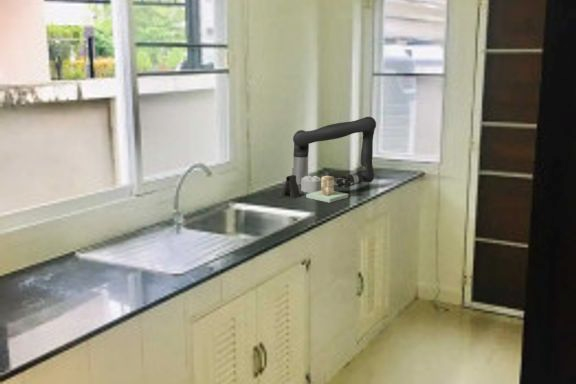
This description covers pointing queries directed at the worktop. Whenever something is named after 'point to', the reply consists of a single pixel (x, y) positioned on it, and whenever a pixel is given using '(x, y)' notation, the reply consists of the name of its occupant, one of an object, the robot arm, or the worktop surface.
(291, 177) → the phone stand
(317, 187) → the lumpy-topped squat cylinder
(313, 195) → the pocket frame
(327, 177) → the birch block
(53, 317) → the worktop surface
